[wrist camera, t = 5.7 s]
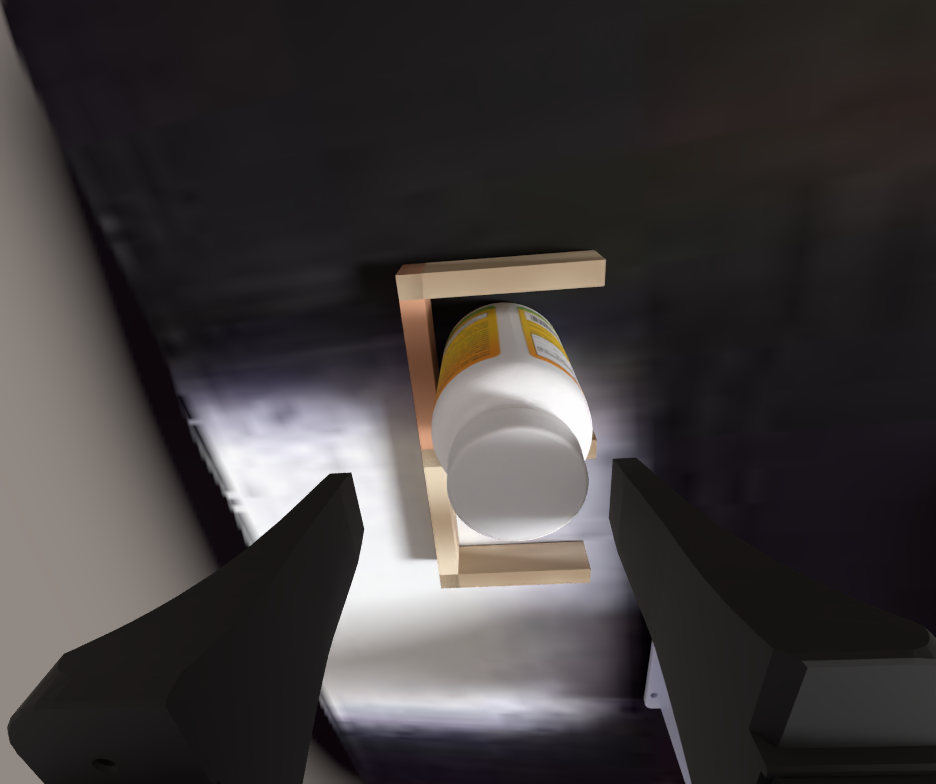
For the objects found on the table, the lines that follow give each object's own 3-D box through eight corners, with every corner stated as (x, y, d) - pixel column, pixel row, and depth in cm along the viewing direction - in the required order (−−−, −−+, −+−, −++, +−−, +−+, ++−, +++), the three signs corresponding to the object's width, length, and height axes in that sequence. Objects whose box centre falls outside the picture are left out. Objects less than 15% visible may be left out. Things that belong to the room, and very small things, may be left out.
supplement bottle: (443, 406, 23) (421, 557, 14) (444, 297, 21) (418, 400, 12) (554, 410, 23) (599, 565, 14) (568, 302, 21) (632, 408, 12)
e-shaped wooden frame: (582, 554, 27) (589, 582, 25) (443, 560, 28) (441, 588, 26) (594, 249, 20) (605, 259, 18) (402, 264, 20) (395, 275, 18)
